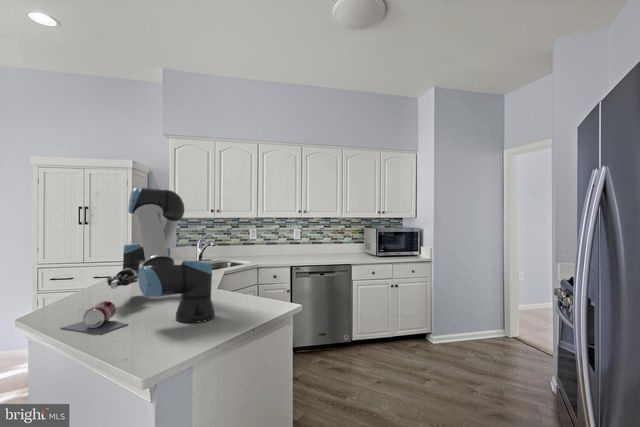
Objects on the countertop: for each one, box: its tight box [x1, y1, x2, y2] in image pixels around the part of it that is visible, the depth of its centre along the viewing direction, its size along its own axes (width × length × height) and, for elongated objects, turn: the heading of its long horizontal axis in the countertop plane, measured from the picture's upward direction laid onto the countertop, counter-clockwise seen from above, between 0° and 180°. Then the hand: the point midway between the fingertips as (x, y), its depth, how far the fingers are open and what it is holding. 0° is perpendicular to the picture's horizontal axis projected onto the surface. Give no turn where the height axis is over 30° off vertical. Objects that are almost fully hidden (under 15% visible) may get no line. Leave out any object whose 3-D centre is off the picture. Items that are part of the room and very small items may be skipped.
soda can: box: [82, 300, 117, 328], centre depth 127 cm, size 7×7×12 cm
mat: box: [60, 320, 129, 336], centre depth 124 cm, size 18×12×1 cm, turn 74°
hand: (112, 285), depth 143 cm, fingers closed
